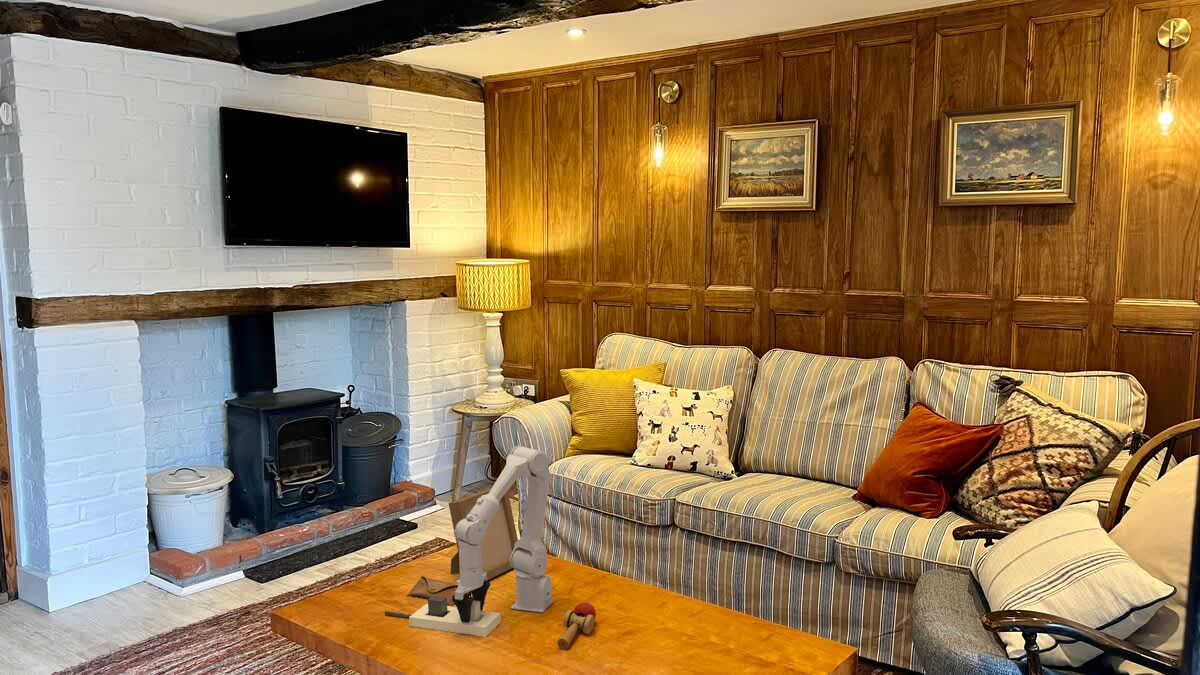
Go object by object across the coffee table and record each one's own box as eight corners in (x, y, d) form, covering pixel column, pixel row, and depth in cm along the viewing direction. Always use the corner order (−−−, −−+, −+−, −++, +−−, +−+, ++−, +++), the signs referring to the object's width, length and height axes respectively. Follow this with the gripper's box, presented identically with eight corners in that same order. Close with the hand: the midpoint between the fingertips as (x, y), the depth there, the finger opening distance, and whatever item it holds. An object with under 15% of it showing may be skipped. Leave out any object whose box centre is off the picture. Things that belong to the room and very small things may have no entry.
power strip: (500, 622, 232) (500, 598, 231) (485, 636, 223) (485, 612, 223) (394, 608, 242) (393, 585, 241) (376, 621, 233) (375, 597, 233)
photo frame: (522, 565, 273) (520, 487, 271) (476, 588, 255) (473, 504, 252) (486, 557, 281) (484, 480, 279) (438, 578, 263) (435, 497, 261)
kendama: (581, 657, 215) (604, 617, 231) (575, 633, 214) (599, 595, 230) (552, 657, 218) (577, 618, 234) (546, 634, 216) (572, 597, 233)
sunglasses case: (402, 595, 250) (410, 572, 253) (416, 600, 256) (423, 577, 258) (454, 607, 242) (461, 582, 245) (467, 611, 248) (474, 587, 250)
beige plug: (480, 623, 230) (480, 601, 230) (475, 627, 227) (474, 605, 227) (466, 621, 231) (466, 599, 231) (461, 626, 229) (461, 603, 228)
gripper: (469, 554, 236) (470, 603, 237) (443, 573, 222) (445, 625, 223) (493, 557, 234) (494, 606, 235) (468, 576, 220) (470, 628, 221)
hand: (472, 615), depth 229 cm, fingers open, 7 cm apart
